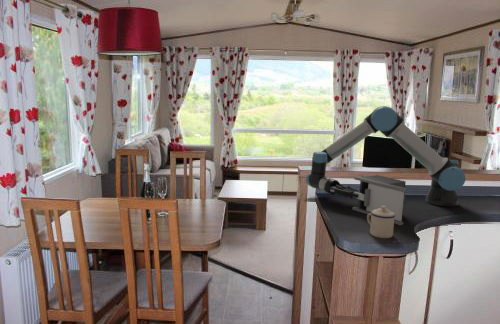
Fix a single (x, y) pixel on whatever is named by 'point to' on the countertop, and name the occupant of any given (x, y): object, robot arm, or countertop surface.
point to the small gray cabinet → (381, 182)
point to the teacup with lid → (381, 222)
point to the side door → (384, 199)
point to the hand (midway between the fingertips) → (364, 197)
